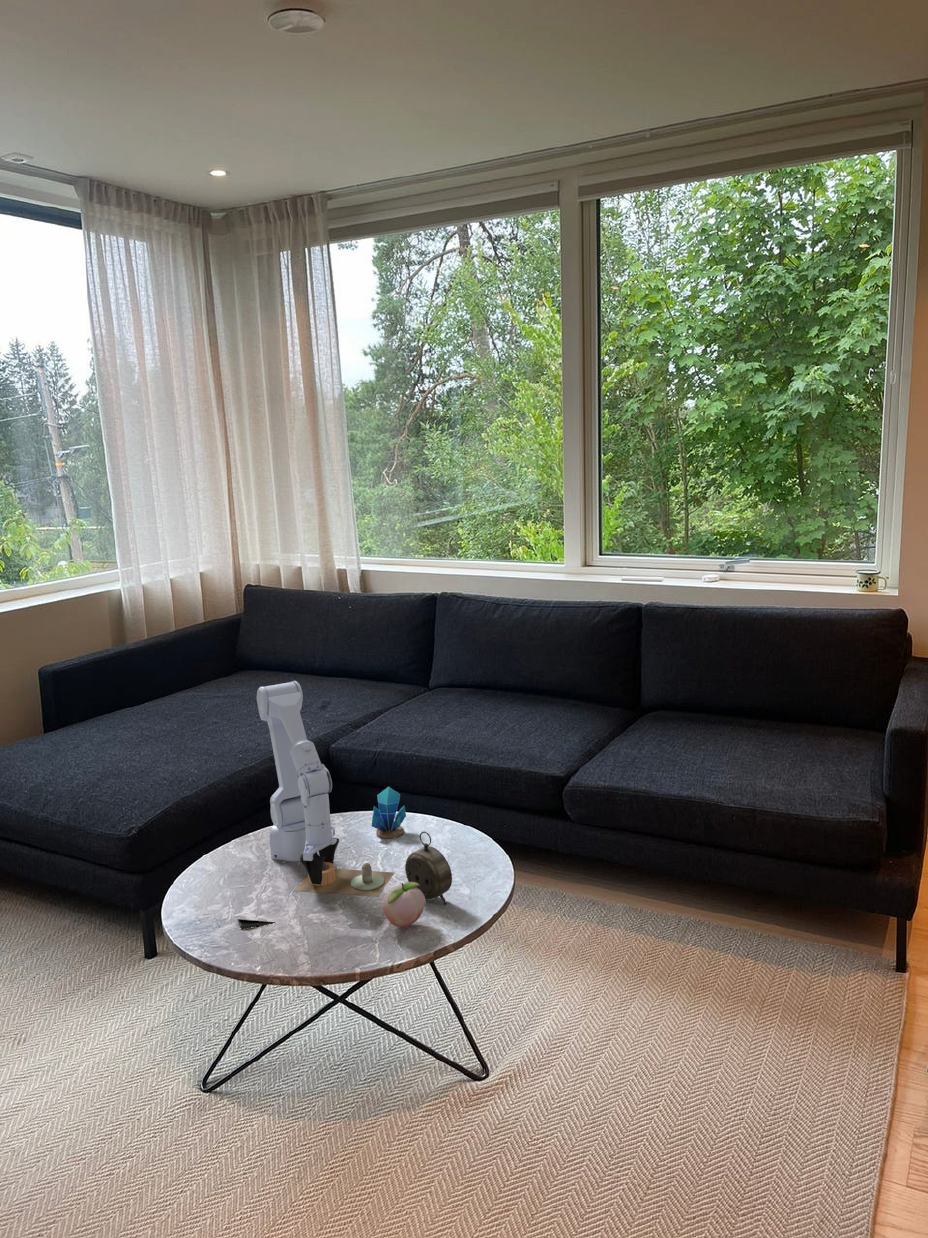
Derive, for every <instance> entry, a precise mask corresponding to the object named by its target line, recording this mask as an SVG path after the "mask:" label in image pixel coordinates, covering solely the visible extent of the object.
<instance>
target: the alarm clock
mask: <svg viewBox="0 0 928 1238" xmlns="http://www.w3.org/2000/svg"><path fill="white" fill-rule="evenodd" d="M423 834H426V835H427V836H428V838H429V844H428V843H424V842H423V841H422V835H423ZM419 841H420V843H421V844H422V845H423V846H422V847H420V848H419V849H417V850H415V851H413V852H412V853H410V854H409V855H408V856H407V858H406V860H405V865H404V867H405V868H404V869H405V870H404V872H405V875H406V879H407V883H408V882H416V883H418V884H419V885H420V886H417V888H418V889H420V890H421V891H422V893H423V894H424V896H425V900H435V899H437V898H438V897H440V899H441V901H442V903H443V905H444V906H446V905H447V903H448V902H447V901H446V898H445V896H444V894H445V893H447V892H449V890H450V889H451V887H452V883H453V873H452V870H451V866H450V864H449V862H448V860H447V858H446V857H445V856H444V854H442V852H441V851H440V850H438V849H437V848H435V847H433V846H431V844H432V837H431V835H430V833H429V832H426V831H421V832H420V834H419Z"/></svg>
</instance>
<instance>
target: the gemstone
mask: <svg viewBox="0 0 928 1238" xmlns="http://www.w3.org/2000/svg"><path fill="white" fill-rule="evenodd" d="M376 796H377V803H378V808H377V807H376V806H375V805H373V810H372V818H371V828H374V829H376V831H375V834H376V836H377V837H378V838H381V839H385V840H387V839H388V840H390V839H397V838H399V837H402V835H404V832H405V829H404V827H403V826H401V825H402V823H403V822H404V820H405V819H406V818H407V815H406V806H405V805H403V806H402V807H401V808H400V809H399V811H398V807H399V804H400V799H401V793H399V792H398V791H396V790H394V789H393V788H391V787H390V786H387V787H386V788H385V789H383V790H381V792H380V793H378V794H377V795H376ZM397 811H398V812H397Z"/></svg>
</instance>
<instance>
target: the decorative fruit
mask: <svg viewBox="0 0 928 1238" xmlns="http://www.w3.org/2000/svg"><path fill="white" fill-rule="evenodd" d="M417 886H420V885H419V884H418V883H416V882H408V881H407V882H406V883H404V882H402V883H401V884H400V885H396V886H394V887H392V888H391V889H390V890H389V891H387V893H385V895H384V896H383V899H382V906H381V907H382V911H383V914H384V916H385V918H386V919H387V921H388V922H389V923H390V924H392V926H395V927H397V928H402V929H407V928H410V927H411V926H412V925H414V924H415V923H416V922H418V920H419V919H420V917H421V915H422V914H423V912H424V910H425V907H426V899H425V896H424V894H423V893H422V891H421V890H420V889H418V888H417Z"/></svg>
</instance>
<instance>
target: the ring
mask: <svg viewBox="0 0 928 1238" xmlns="http://www.w3.org/2000/svg"><path fill="white" fill-rule="evenodd" d="M324 863H325V864H326V870H325V871H322V882H321V884H312V883H311V880H310V877H309V882H310V884H312V885H315V886H324V885H327V884H328V885H329V884H331V883H333V882H334V881H335V880H336V875H335V869H336V867H335V864H334V863H333V864H332V863H329V862H324ZM307 875H309V874H308V873H307Z"/></svg>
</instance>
